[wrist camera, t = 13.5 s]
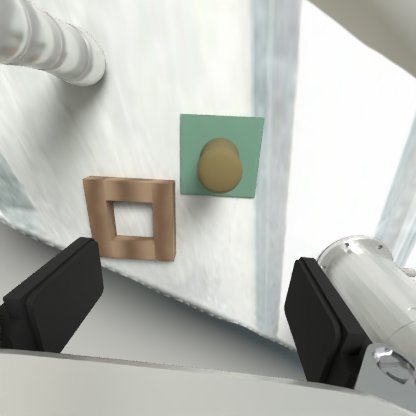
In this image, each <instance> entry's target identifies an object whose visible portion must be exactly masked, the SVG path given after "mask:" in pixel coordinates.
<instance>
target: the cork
mask: <svg viewBox="0 0 416 416" xmlns="http://www.w3.org/2000/svg"><path fill="white" fill-rule="evenodd" d="M242 174H243V167H242V163H241V161H240V159H239V152H238V149H237V147H236V146H235V145H234V144H233V143H232V142H231V141H229V140H228V139H224V138H215V139H212V140H210V141H209V142H207V143H206V144H205V145H204V147H203V149H202V151H201V154H200V161H199V163H198V167H197V175H198V179H199V181H200V183H201V185H202V186H203V187H204V188H206V189H207V190H208V191H210V192H212V193H217V194H222V193H227V192H229V191H231V190H233V189H234V188H235V187H236V186H237V185H238V184H239V182H240V180H241V179H242Z"/></svg>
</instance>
